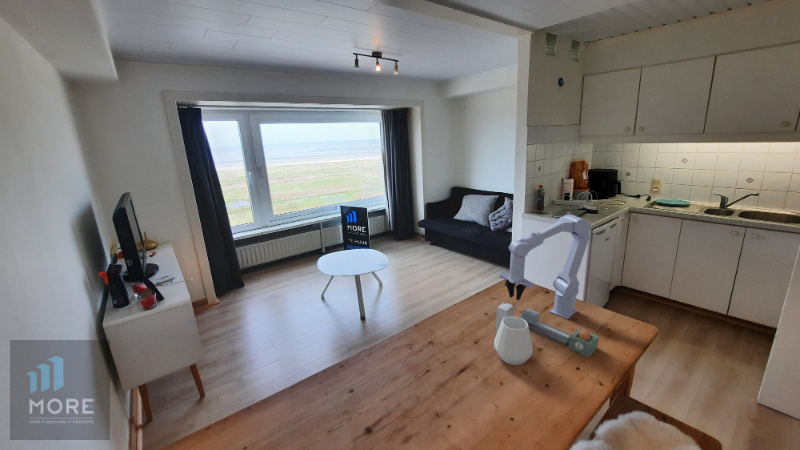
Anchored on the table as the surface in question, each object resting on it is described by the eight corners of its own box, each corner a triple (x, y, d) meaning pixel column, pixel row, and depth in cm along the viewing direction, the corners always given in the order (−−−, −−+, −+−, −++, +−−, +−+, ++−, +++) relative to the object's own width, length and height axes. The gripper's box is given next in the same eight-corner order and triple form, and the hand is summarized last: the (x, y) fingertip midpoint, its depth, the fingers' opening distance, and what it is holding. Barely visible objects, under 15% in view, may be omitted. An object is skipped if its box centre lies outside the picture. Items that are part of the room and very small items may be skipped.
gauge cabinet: (577, 339, 126) (579, 328, 124) (597, 347, 121) (599, 336, 119) (567, 348, 121) (569, 337, 119) (588, 358, 115) (589, 345, 114)
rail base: (525, 317, 141) (525, 313, 141) (572, 338, 126) (573, 333, 126) (516, 323, 137) (516, 319, 136) (564, 345, 122) (565, 340, 122)
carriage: (527, 316, 139) (528, 308, 138) (538, 321, 135) (539, 313, 134) (521, 320, 136) (522, 312, 135) (532, 325, 132) (533, 317, 131)
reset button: (580, 338, 122) (581, 328, 121) (590, 342, 120) (592, 333, 119) (576, 342, 120) (577, 332, 119) (586, 347, 118) (588, 337, 116)
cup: (489, 362, 115) (491, 328, 111) (497, 340, 126) (499, 309, 123) (529, 373, 109) (533, 338, 105) (534, 350, 120) (537, 317, 116)
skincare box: (505, 338, 128) (506, 311, 124) (494, 334, 131) (496, 307, 127) (512, 331, 132) (514, 305, 128) (502, 327, 135) (504, 301, 131)
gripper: (496, 266, 138) (495, 295, 142) (528, 277, 128) (525, 307, 131) (505, 262, 143) (504, 289, 146) (537, 271, 132) (534, 301, 136)
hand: (515, 298), depth 139 cm, fingers open, 3 cm apart
